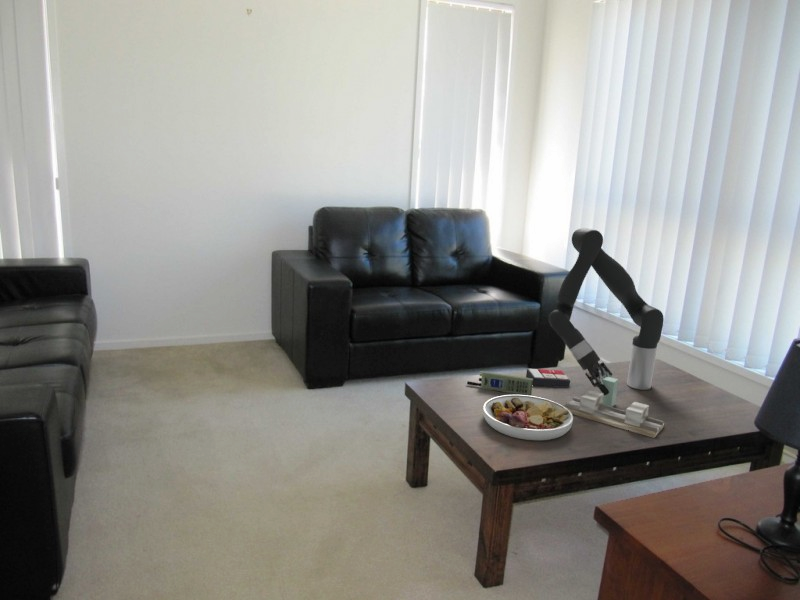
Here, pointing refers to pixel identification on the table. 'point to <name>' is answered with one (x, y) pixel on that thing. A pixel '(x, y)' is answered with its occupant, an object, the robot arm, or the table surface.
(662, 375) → the table surface
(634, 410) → the rail board
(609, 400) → the sage module
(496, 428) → the bowl
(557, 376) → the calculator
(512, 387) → the handheld radio
